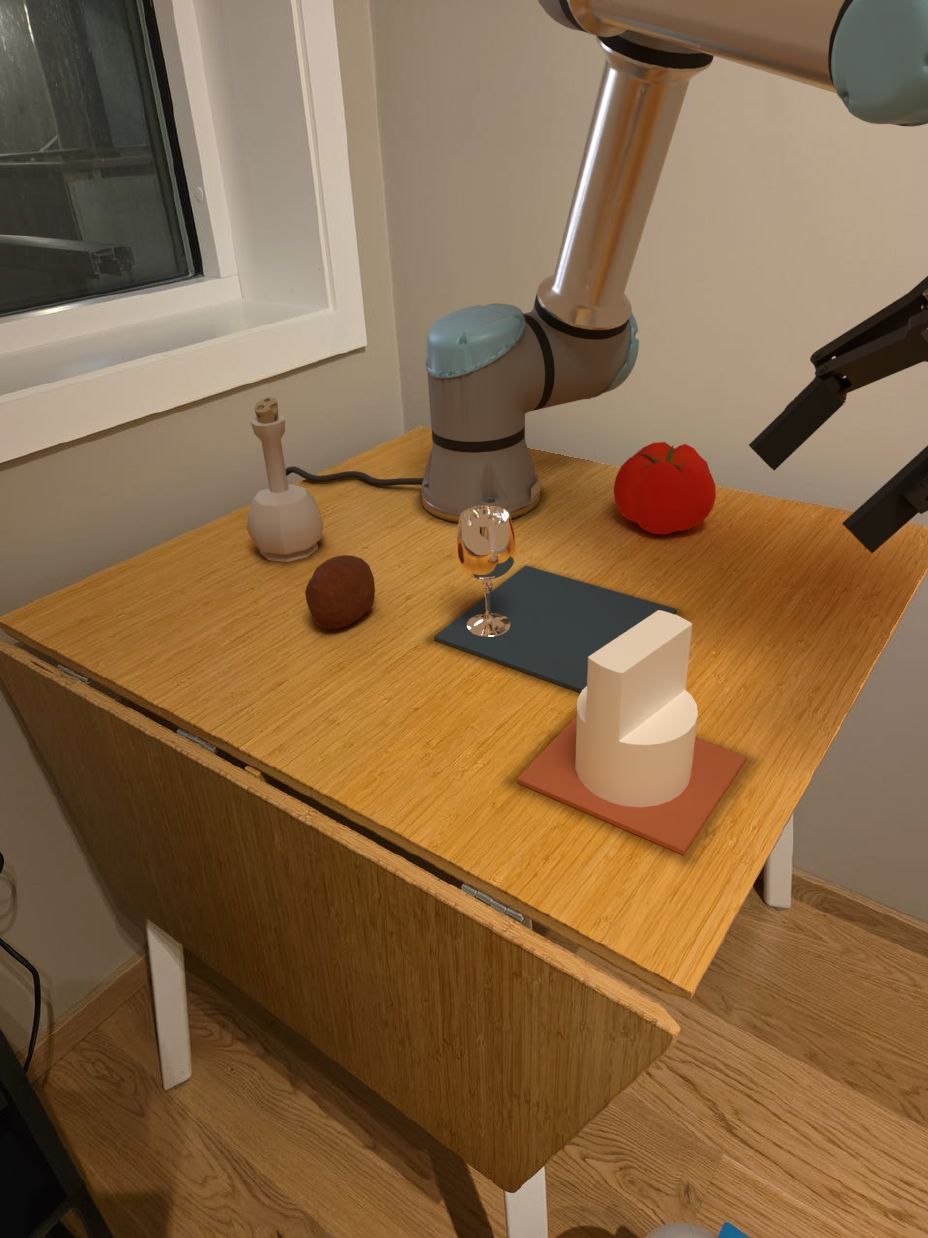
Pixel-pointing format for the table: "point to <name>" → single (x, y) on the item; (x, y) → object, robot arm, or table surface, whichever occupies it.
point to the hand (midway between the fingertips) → (804, 494)
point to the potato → (340, 591)
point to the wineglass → (486, 559)
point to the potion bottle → (280, 498)
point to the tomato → (665, 488)
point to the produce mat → (655, 823)
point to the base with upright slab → (638, 715)
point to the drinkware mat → (550, 625)
